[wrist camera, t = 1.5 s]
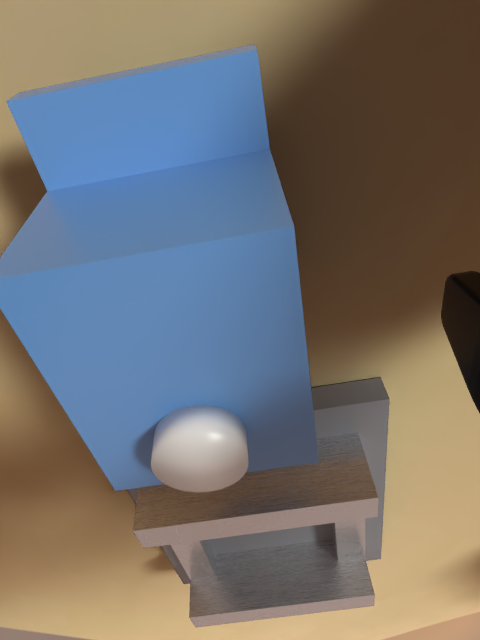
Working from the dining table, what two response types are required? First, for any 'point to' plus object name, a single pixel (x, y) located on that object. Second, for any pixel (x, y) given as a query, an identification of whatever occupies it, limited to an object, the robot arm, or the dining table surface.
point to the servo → (164, 274)
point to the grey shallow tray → (283, 521)
